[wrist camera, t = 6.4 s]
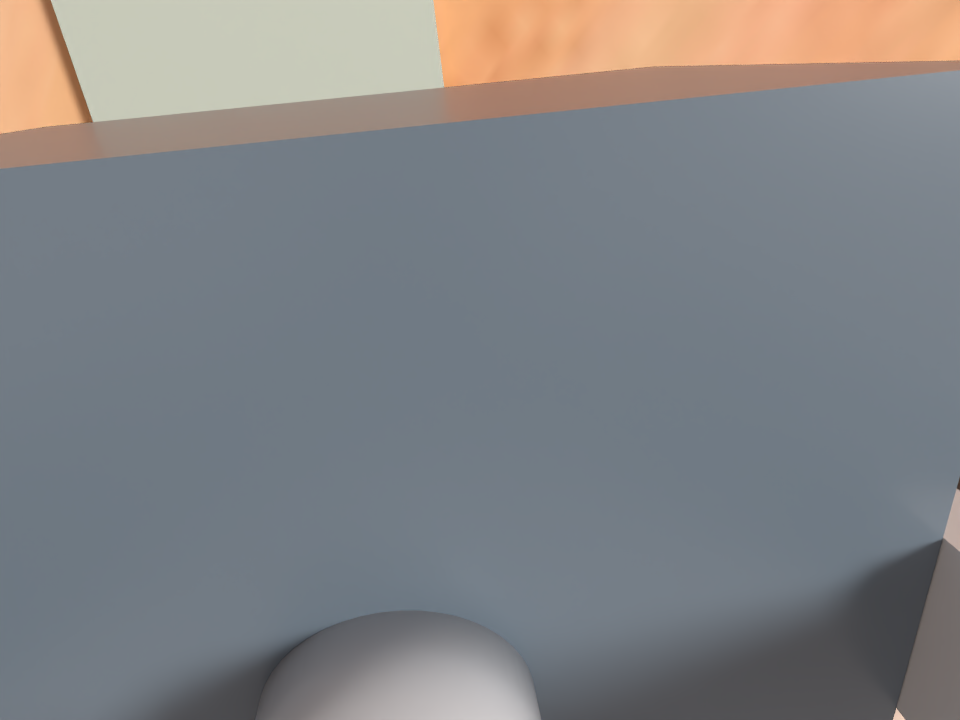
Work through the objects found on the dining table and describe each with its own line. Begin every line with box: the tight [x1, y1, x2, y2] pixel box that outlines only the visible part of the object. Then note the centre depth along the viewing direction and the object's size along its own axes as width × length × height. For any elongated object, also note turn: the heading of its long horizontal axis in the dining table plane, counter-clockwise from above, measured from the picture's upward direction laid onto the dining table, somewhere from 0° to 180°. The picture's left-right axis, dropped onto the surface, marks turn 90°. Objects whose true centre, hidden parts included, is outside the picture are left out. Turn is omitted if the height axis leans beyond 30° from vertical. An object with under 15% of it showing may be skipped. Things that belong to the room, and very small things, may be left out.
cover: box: [0, 61, 960, 720], centre depth 10 cm, size 12×12×10 cm
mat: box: [51, 0, 444, 122], centre depth 29 cm, size 15×15×1 cm
